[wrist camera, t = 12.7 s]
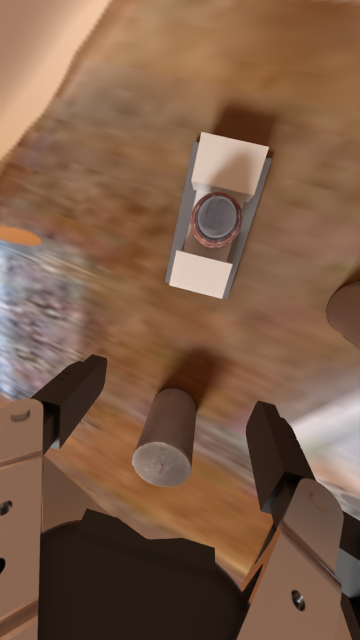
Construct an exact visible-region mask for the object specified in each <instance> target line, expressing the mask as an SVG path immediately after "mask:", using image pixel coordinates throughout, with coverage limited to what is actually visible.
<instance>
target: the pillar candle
mask: <svg viewBox="0 0 360 640" xmlns="http://www.w3.org/2000/svg"><path fill="white" fill-rule="evenodd" d="M195 421H196V404H195V401H194V399H193V398H192V397H191V396H190V395H189V394H188V393H186V392H185V391H183V390H180V389H174V388H172V389H171V388H170V389H165V390H163V391H161V392H160V393H159V394H158V395H157V396H156V397H155V399H154V401H153V404H152V406H151V409H150V412H149V414H148V417H147V420H146V423H145V425H144V428H143V431H142V434H141V436H140V439H139V442H138V444H137V447H136V450H135V452H134V455H133V460H132V465H133V466H134V468H135V470H136V471H137V473H138V474H139V475H140V476H141V477H142V478H143V479H144V480H145V481H147V482H148V483H151V484H153V485H157V486H162V487H173V486H177V485H180V484H182V483H183V482H185V481H186V480H187V479H188V477H189V475H190V473H191V465H192V454H193V442H194V432H195Z"/></svg>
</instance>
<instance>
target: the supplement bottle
mask: <svg viewBox="0 0 360 640" xmlns="http://www.w3.org/2000/svg"><path fill="white" fill-rule="evenodd" d="M242 220H243V217H242V210H241V207H240V205H239V203H238V202H237V201H236V199H235V198H234V197H232V196H231V195H229V194H227V193H224V192H212V193H209V194H207V195H205V196H204V197H202V198H201V199H200V200H199V201H198V202H197V203H196V205H195V207H194V208H193V211H192V214H191V219H190V225H191V230H192V233H193V235H194V236H195V238H196V240H197V241H198V242H199V243H200V244H202V245H203V246H205V247H207V248H212V249H215V248H220V247H223V246H226V245H228V244H229V243H231V242H232V241H233V240H234V239H235V238H236V236H237V235H238V233H239V231H240V229H241V226H242Z"/></svg>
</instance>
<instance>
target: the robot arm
mask: <svg viewBox="0 0 360 640" xmlns="http://www.w3.org/2000/svg"><path fill="white" fill-rule="evenodd" d="M326 312H327V319H328V322H329V323H330V325H331V326H332V327H333V328H334V329H335V330H337V331H338V332H340V333H341V334H343V337H344V338H345V339H346V340H348V341H349V342H351V343H352V344H354V345H355V346H357V347H358V348H360V281H356V282H352V283H349V284H347V285H345V286H343V287H342V288H341V289H339V290H338V291H337V292H336V293H335V294H334V295H333V296H332V298H331V299H330V301H329V304H328V306H327V311H326ZM106 368H107V358H104V357H101V356H97V355H93V354H92V355H91V356H90V357H88V358H87V359H86V360H85V361H84V362H81V361H78V362H75V363H73V364H71V365H69V366H68V367H66V368H65V369H64V370H63V371H62V372H61V373H59V374H58V375H57V376H56V377H55V378H53V379H52V380H51V381H50V382H49V383H48V384H46V385H45V386H44V387H43V388H42V389H40V390H39V391H38V392H37V393H36V394H35V395H33V396H32V397H31V398H30V399H20V400H16V401H13V402H11V403H9V404H7V405H5V406H4V407H3V408H1V409H0V640H335V639H336V632H337V624H338V617H339V608H340V605H341V608H342V611H343V613H344V617H345V619H346V623H347V626H348V629H349V631H350V635H351V637H352V640H360V521H359V520H358V519H356V518H354V517H352V516H351V515H349V514H347V513H346V512H344V511H343V510H342V508H341V506H340V504H339V503H338V501H337V500H336V498H335V497H334V496H333V495H332V493H331V492H330V491H329V490H328V489H327V488H325V487H324V486H323V485H321V484H320V483H318V482H317V481H316V479H315V477H314V475H313V473H312V471H311V468H310V466H309V464H308V462H307V460H306V457H305V455H304V453H303V451H302V449H301V448H300V444H299V442H298V440H296V436H295V433H294V431H293V429H292V427H291V426H290V425H289V424H288V423H287V421H286V420H285V419H284V418H281V417H280V416H279V413H278V411H277V408H276V406H275V405H273V404H270V403H266V402H262V401H258V402H257V403H256V405H255V407H254V409H253V412H252V414H251V416H250V418H249V420H248V423H247V426H246V438H247V443H248V449H249V454H250V459H251V464H252V469H253V474H254V479H255V484H256V489H257V494H258V500H259V505H260V510H261V511H263V512H266V513H269V514H272V518H273V523H272V525H271V526H270V528H269V530H268V533H267V535H266V537H265V539H264V541H263V543H262V545H261V547H260V550H259V552H258V554H257V556H256V558H255V560H254V562H253V565H252V567H251V569H250V571H249V573H248V575H247V576H246V578H245V580H244V582H243V583H242V585H241V587H240V588H239V587H238V585H237V584H236V583H235V581H234V580H233V579H232V578H231V577H230V575H229V574H228V573H227V572H226V571H225V570H224V569H223V568H222V567H221V566H219V565H218V564H217V563H215V548H213V547H210V546H207V545H203V544H200V543H197V542H194V541H191V540H187V539H184V538H173V539H153V540H150V539H146V538H144V537H143V536H142V535H140V534H139V533H137V532H136V531H135V530H133V529H132V528H131V527H129V526H128V525H127V524H125V523H124V522H122V521H121V520H120V519H118V518H116V517H113V516H110V515H106V514H103V513H100V512H96V511H93V510H90V509H86V511H85V514H84V516H83V518H82V520H75V521H70V522H66V523H63V524H59V525H57V526H55V527H53V528H50V529H48V530H46V531H45V532H43V533H42V510H43V509H42V508H43V507H42V506H43V502H42V501H43V455H44V454H45V453H46V452H47V450H48V449H49V448H50V447H51V448H55V449H58V450H59V449H60V448H61V446H62V445H63V444H64V442H65V441H66V440H67V438H68V437H69V436H70V434H71V433H72V432H73V430H74V429H75V427H76V426H77V425H78V423H79V422H80V421H81V419H82V418H83V417H84V415H85V414H86V412H87V411H88V410H89V408H90V407H91V406H92V404H93V403H94V402H95V400H96V399H97V398H98V396H99V395H100V393H101V391H102V389H103V387H104V383H105V376H106Z"/></svg>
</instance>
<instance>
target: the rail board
mask: <svg viewBox="0 0 360 640" xmlns="http://www.w3.org/2000/svg"><path fill="white" fill-rule="evenodd" d="M268 149H269V147H267V146H262V145H258V144H253V143H249V142H244V141H240V140H235V139H231V138H226V137H222V136H217V135H213V134H208V133H204V132H201V137H200V142H193V147H192V152H191V157H190V161H189V166H188V171H187V176H186V181H185V186H184V191H183V196H182V201H181V206H180V210H179V215H178V220H177V225H176V230H175V235H174V240H173V245H172V250H171V254H170V259H169V264H168V269H167V274H166V279H165V282H166V283H169V285H170V286H174V287H178V288H182V289H186V290H190V291H194V292H198V293H201V294H205V295H209V296H213V297H217V298H221V299H222V297H225V298H228V295H229V292H230V289H231V286H232V283H233V280H234V277H235V274H236V270H237V267H238V264H239V261H240V258H241V255H242V252H243V248H244V245H245V242H246V239H247V236H248V233H249V230H250V227H251V223H252V220H253V217H254V214H255V211H256V208H257V205H258V202H259V198H260V195H261V192H262V189H263V186H264V183H265V180H266V176H267V173H268V170H269V167H270V164H271V161H272V159H270V158H266V155H267V152H268ZM212 192H224V193H227V194H229V195H231V196H232V197H234V198H235V199H236V201H237V202H238V203H239V205H240V207H241V210H242V217H243V220H242V226H241V229H240V231H239V233H238V235H237V236H236V238H235V239H234V240H233V241H232V242H231V243H229V244H228V245H226V246H223V247H220V248H215V249H212V248H207V247H205V246H203V245H202V244H200V243H199V242H198V241H197V240H196V238H195V236H194V235H193V233H192V230H191V225H190V219H191V214H192V211H193V208H194V207H195V205H196V203H197V202H198V201H199V200H200V199H201V198H202V197H204V196H205V195H207V194H209V193H212Z"/></svg>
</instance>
